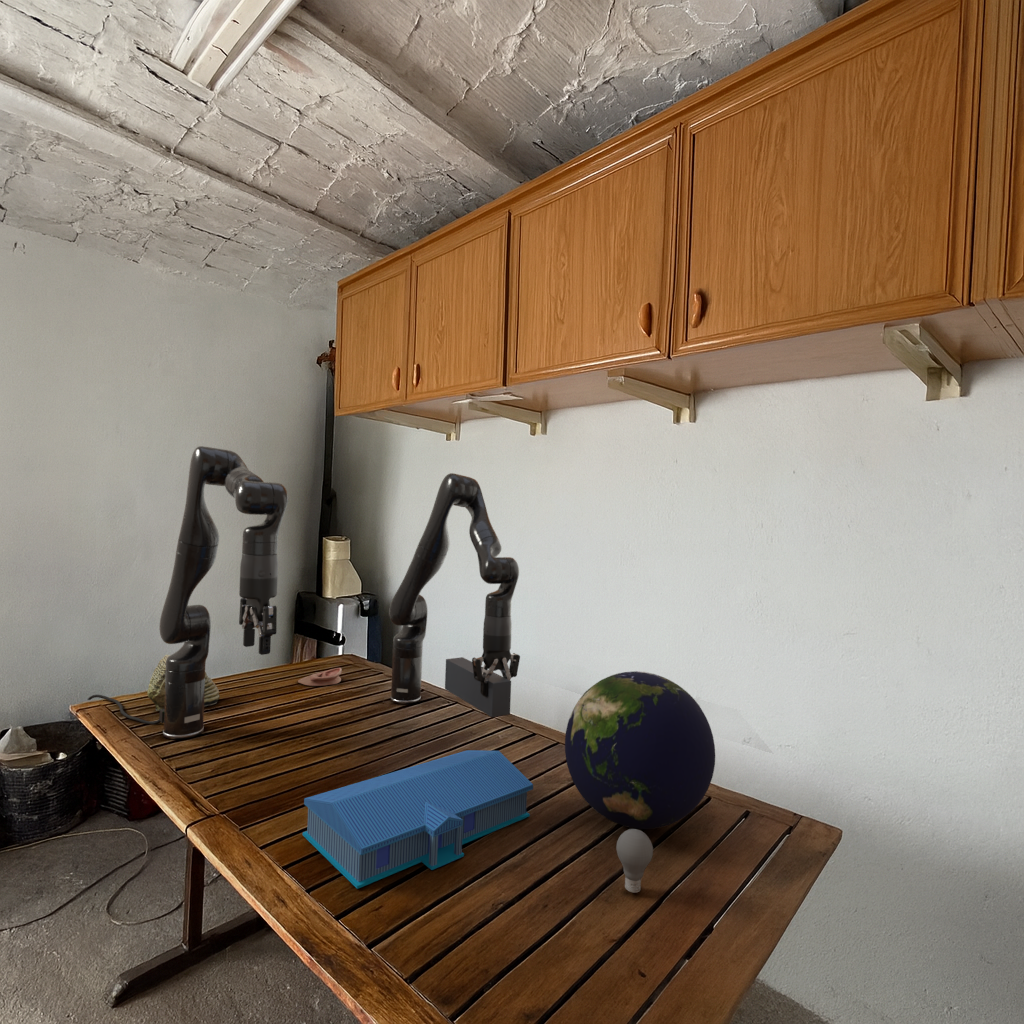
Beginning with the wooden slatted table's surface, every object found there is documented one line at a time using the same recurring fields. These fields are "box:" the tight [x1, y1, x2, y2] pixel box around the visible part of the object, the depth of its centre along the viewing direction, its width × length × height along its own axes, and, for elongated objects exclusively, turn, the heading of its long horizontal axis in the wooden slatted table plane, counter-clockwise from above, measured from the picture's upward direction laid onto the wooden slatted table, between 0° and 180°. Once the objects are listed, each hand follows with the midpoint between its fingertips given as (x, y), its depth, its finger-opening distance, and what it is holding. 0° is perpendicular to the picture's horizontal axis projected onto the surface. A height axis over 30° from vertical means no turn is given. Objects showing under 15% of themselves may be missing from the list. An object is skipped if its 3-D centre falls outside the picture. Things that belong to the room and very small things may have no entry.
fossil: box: [147, 654, 221, 712], centre depth 185 cm, size 9×18×15 cm, turn 132°
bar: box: [444, 657, 512, 718], centre depth 178 cm, size 28×6×9 cm, turn 32°
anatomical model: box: [297, 667, 343, 687], centre depth 214 cm, size 13×4×12 cm
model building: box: [302, 749, 534, 890], centre depth 123 cm, size 39×24×10 cm, turn 132°
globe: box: [564, 670, 716, 830], centre depth 129 cm, size 30×30×30 cm
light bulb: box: [615, 828, 654, 894], centre depth 106 cm, size 6×6×10 cm
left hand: (256, 650), depth 136 cm, fingers open, 8 cm apart
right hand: (495, 694), depth 170 cm, fingers closed on bar, 5 cm apart
